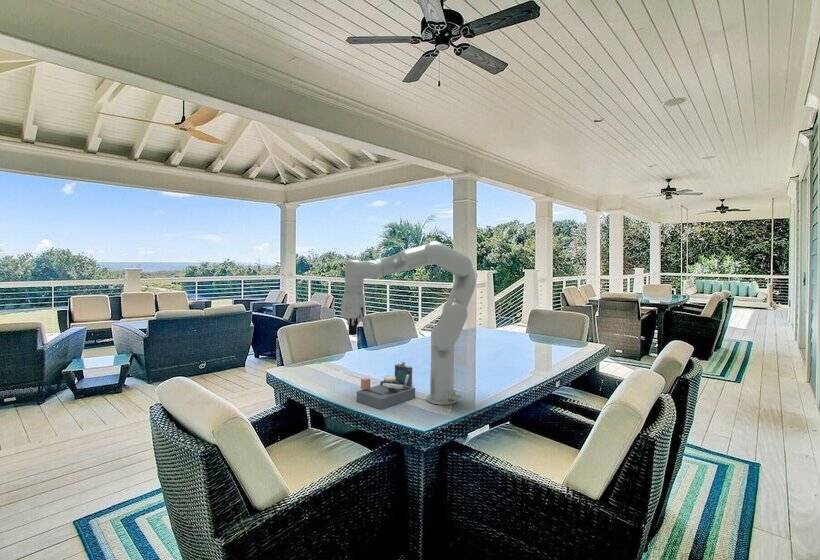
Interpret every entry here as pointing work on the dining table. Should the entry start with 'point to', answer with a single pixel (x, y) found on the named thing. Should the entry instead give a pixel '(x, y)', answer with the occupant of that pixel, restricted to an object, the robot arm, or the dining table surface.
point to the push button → (389, 379)
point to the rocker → (392, 385)
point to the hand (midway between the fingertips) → (352, 334)
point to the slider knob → (365, 383)
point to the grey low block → (385, 395)
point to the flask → (403, 374)
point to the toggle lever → (407, 377)
